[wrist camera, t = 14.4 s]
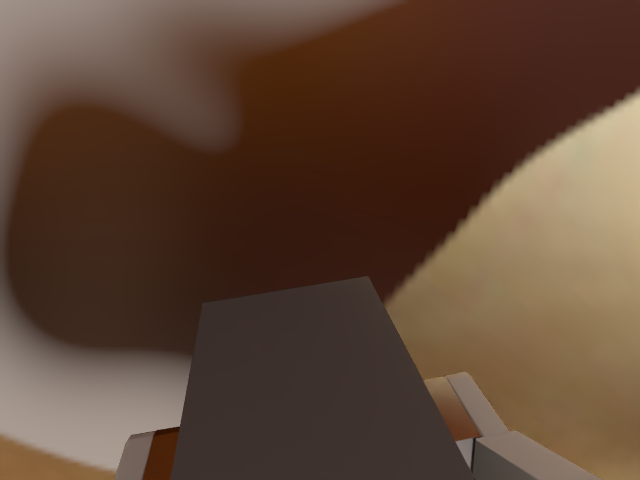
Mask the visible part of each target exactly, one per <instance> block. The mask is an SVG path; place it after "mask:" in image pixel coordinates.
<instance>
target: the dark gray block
mask: <svg viewBox="0 0 640 480" xmlns="http://www.w3.org/2000/svg"><path fill="white" fill-rule="evenodd" d="M170 480H475V478H474V476H473V474H472V472H471V470H470V468H469V466H468V465H467V463H466V461H465V459H464V457H463V455H462V453H461V451H460V449H459V447H458V446H457V444H456V442H455V440H454V438H453V436H452V434H451V432H450V430H449V429H448V427H447V425H446V423H445V421H444V419H443V417H442V415H441V413H440V411H439V410H438V408H437V406H436V404H435V402H434V400H433V398H432V396H431V394H430V393H429V391H428V389H427V387H426V385H425V383H424V381H423V379H422V377H421V375H420V374H419V372H418V370H417V368H416V366H415V364H414V362H413V360H412V358H411V357H410V355H409V353H408V351H407V349H406V347H405V345H404V343H403V341H402V339H401V338H400V336H399V334H398V332H397V330H396V328H395V326H394V324H393V322H392V321H391V319H390V317H389V315H388V313H387V311H386V309H385V307H384V305H383V303H382V302H381V300H380V298H379V296H378V294H377V292H376V290H375V288H374V286H373V285H372V283H371V281H370V279H369V277H368V276H365V277H359V278H353V279H347V280H341V281H335V282H328V283H322V284H316V285H310V286H304V287H298V288H292V289H286V290H280V291H273V292H268V293H262V294H256V295H249V296H243V297H237V298H231V299H225V300H219V301H213V302H206V303H202V308H201V314H200V319H199V325H198V330H197V336H196V341H195V347H194V353H193V358H192V363H191V369H190V374H189V380H188V386H187V391H186V396H185V402H184V407H183V413H182V419H181V424H180V429H179V435H178V440H177V446H176V452H175V457H174V463H173V468H172V474H171V479H170Z"/></svg>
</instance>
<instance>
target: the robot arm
mask: <svg viewBox="0 0 640 480" xmlns="http://www.w3.org/2000/svg"><path fill="white" fill-rule="evenodd" d="M423 381H424V383H425V385H426V387H427V389H428V391H429V393H430V394H431V396H432V398H433V400H434V402H435V404H436V406H437V408H438V410H439V411H440V413H441V415H442V417H443V419H444V421H445V423H446V425H447V427H448V429H449V430H450V432H451V434H452V436H453V438H454V440H455V442H456V444H457V446H458V447H459V449H460V451H461V453H462V455H463V457H464V459H465V461H466V463H467V465H468V466H469V468H470V470H471V472H472V474H473V476H474V478H475V480H602V479H600V478H598V477H597V476H595V475H593V474H591V473H590V472H588V471H586V470H584V469H583V468H581V467H579V466H578V465H576V464H574V463H572V462H571V461H569V460H567V459H565V458H564V457H562V456H560V455H558V454H557V453H555V452H553V451H551V450H550V449H548V448H546V447H544V446H543V445H541V444H539V443H537V442H536V441H534V440H532V439H530V438H529V437H527V436H525V435H524V434H522V433H520V432H518V431H517V430H516V431H510V432H509V430H508V429H507V428H506V426H505V425H504V423H503V422H502V420H501V419H500V417H499V416H498V415H497V413H496V412H495V410H494V409H493V407H492V406H491V404H490V403H489V402H488V400H487V399H486V397H485V396H484V394H483V393H482V391H481V390H480V389H479V387H478V386H477V384H476V383H475V381H474V380H473V378H472V377H471V376H470V374H468V373H467V372H460V373H455V374H450V375H445V376H443V377H442V376H440V377H435V378H430V379H425V380H423ZM179 429H180V427H174V428H168V429H162V430H157V431H152V432H146V433H140V434H135V435H131V436H130V438H129V439H128V441H127V442H126V444H125V448H124V451H123V454H122V457H121V460H120V463H119V466H118V469H117V473H116V476H115V479H114V480H170V479H171V474H172V468H173V463H174V457H175V452H176V446H177V440H178V435H179Z"/></svg>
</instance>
